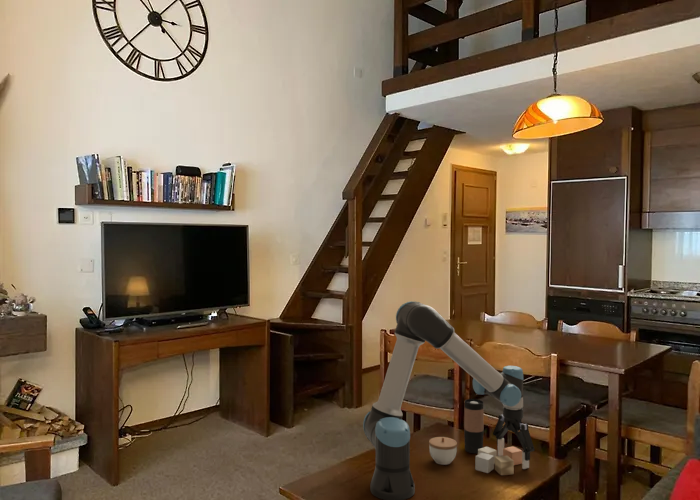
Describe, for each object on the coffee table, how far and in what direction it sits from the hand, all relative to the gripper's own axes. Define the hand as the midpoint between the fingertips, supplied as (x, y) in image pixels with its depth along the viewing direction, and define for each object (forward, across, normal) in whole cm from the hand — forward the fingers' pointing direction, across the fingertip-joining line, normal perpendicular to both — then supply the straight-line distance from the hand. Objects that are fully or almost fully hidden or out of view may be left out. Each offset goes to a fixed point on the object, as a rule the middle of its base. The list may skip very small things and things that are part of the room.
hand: (512, 461), depth 212 cm
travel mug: (0, +16, +6) cm, 17 cm away
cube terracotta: (0, 0, 0) cm, 0 cm away
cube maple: (0, -6, +9) cm, 11 cm away
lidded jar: (0, +12, +24) cm, 27 cm away
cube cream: (0, +4, +9) cm, 10 cm away
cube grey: (0, 0, +14) cm, 14 cm away
